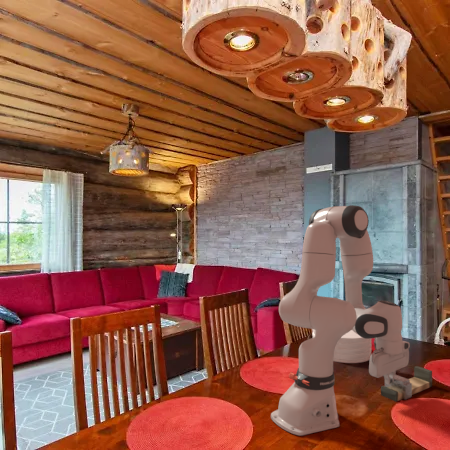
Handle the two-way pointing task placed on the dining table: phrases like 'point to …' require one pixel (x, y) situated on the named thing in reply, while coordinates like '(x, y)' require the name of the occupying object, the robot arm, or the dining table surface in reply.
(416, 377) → the rail
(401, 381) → the block
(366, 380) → the dining table surface
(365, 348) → the plate stack
